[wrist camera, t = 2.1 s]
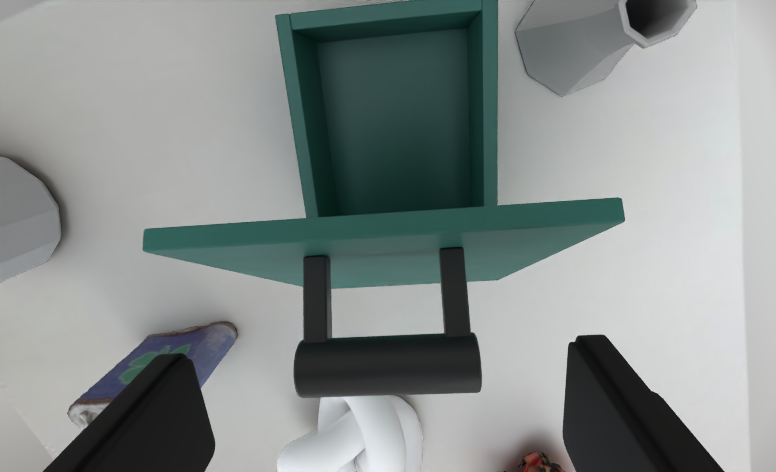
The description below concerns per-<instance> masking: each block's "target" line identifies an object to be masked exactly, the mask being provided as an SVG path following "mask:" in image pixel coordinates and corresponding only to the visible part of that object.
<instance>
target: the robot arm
mask: <svg viewBox="0 0 776 472" xmlns="http://www.w3.org/2000/svg"><path fill="white" fill-rule="evenodd" d="M563 439H564V444H565V447H566V450H567V452H568V454H569V456H570V459H571V461H572V463H573V465H574V468H575V470H576V472H724V471H723V470H722V468H721V467H720V466H719V465H718V464H717V462H716V461H715V460H714V459H713V458H712V456H711V455H710V454H709V453H708V452H707V451H706V449H705V448H704V447H703V446H702V445H701V443H700V442H699V441H698V440H697V439H696V437H695V436H694V435H693V434H692V433H691V431H690V430H689V429H688V428H687V427H686V426H685V424H684V423H683V422H682V421H681V420H680V418H679V417H678V416H677V415H676V414H675V412H674V411H673V410H672V409H671V408H670V407H669V405H668V404H667V403H666V402H665V401H664V399H663V398H662V397H661V396H659V395H658V394H657V393H655V392H652V391H651V390H650V389H649V388H648V387H647V386H646V384H645V383H644V382H643V381H642V379H641V378H640V377H639V376H638V375H637V373H636V372H635V371H634V370H633V369H632V367H631V366H630V365H629V364H628V362H627V361H626V360H625V359H624V358H623V356H622V355H621V354H620V353H619V352H618V350H617V349H616V348H615V347H614V345H613V344H612V343H611V342H610V341H609V339H608V338H607V337H606V336H605V335H582V336H578V337H577V338H576V341H575V342H570V343H569V346H568V357H567V373H566V388H565V403H564V419H563ZM214 451H215V439H214V436H213V432H212V428H211V425H210V421H209V418H208V414H207V410H206V407H205V403H204V399H203V396H202V392H201V389H200V385H199V381H198V378H197V374H196V371H195V367H194V364H193V361H192V360H191V359H187V356H186V355H185V354H183V353H171V354H159V355H157V356H156V357H155V358H154V359H153V360H152V361H151V362H150V363H149V364H148V365H147V366H146V367H145V368H144V369H143V370H142V371H141V372H140V373H139V374H138V375H137V376H136V377H135V378H134V379H133V380H132V381H131V382H130V383H129V384H128V385H127V386H126V387H125V388H124V389H123V390H122V391H121V392H120V393H119V394H118V395H117V396H116V397H115V398H114V399H113V401H112V402H111V403H110V404H109V405H108V406H107V407H106V408H105V409H104V410H103V411H102V412H101V413H100V414H99V415H98V416H97V417H96V418H95V419H94V420H93V421H92V422H91V423H90V424H89V425H88V426H87V427H86V428H85V429H84V430H83V431H82V432H81V433H80V434H79V435H78V436H77V437H76V438H75V439H74V440H73V441H72V442H71V443H70V444H69V445H68V446H67V447H66V448H65V449H64V450H63V451H62V453H61V454H60V455H59V456H58V457H57V458H56V459H55V460H54V461H53V462H52V463H51V464H50V465H49V466H48V467H47V468H46V469H45V470H44V471H43V472H205V470H206V468H207V466H208V464H209V462H210V461H211V459H212V457H213V454H214Z"/></svg>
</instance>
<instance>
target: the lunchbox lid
mask: <svg viewBox="0 0 776 472" xmlns="http://www.w3.org/2000/svg"><path fill="white" fill-rule="evenodd" d="M624 221H625V216H624V210H623V204H622V199H621V198H604V199H589V200H573V201H558V202H543V203H528V204H513V205H498V206H483V207H468V208H453V209H438V210H423V211H408V212H393V213H378V214H362V215H347V216H332V217H317V218H302V219H287V220H272V221H257V222H242V223H227V224H212V225H197V226H182V227H167V228H152V229H145V230H144V236H143V251H144V252H147V253H152V254H156V255H161V256H165V257H170V258H175V259H179V260H184V261H188V262H193V263H197V264H202V265H206V266H211V267H215V268H220V269H225V270H229V271H234V272H238V273H243V274H247V275H252V276H256V277H261V278H266V279H270V280H275V281H279V282H284V283H288V284H293V285H297V286H302V287H303V316H304V340H302V341H300V343H299V344H298V347H297V350H296V354H295V359H294V383H295V388H296V392H297V394H298V396H299V397H301V398H320V397H352V396H384V395H417V394H449V393H478V392H480V390H481V386H482V371H481V359H480V351H479V345H478V341H477V337H476V335H475V333H472V332H471V329H470V317H469V305H468V293H467V282H470V281H489V280H499V279H501V278H503V277H505V276H508V275H510V274H512V273H514V272H516V271H518V270H521V269H523V268H525V267H527V266H529V265H532V264H534V263H536V262H538V261H540V260H542V259H545V258H547V257H549V256H551V255H553V254H555V253H558V252H560V251H562V250H564V249H566V248H568V247H571V246H573V245H575V244H577V243H579V242H581V241H584V240H586V239H588V238H590V237H592V236H594V235H597V234H599V233H601V232H603V231H605V230H608V229H610V228H612V227H614V226H616V225H618V224H621V223H623V222H624ZM432 283H441V293H442V307H443V322H444V333H443V334H419V335H396V336H372V337H349V338H332V311H331V289H336V288H355V287H374V286H394V285H413V284H432Z"/></svg>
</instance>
